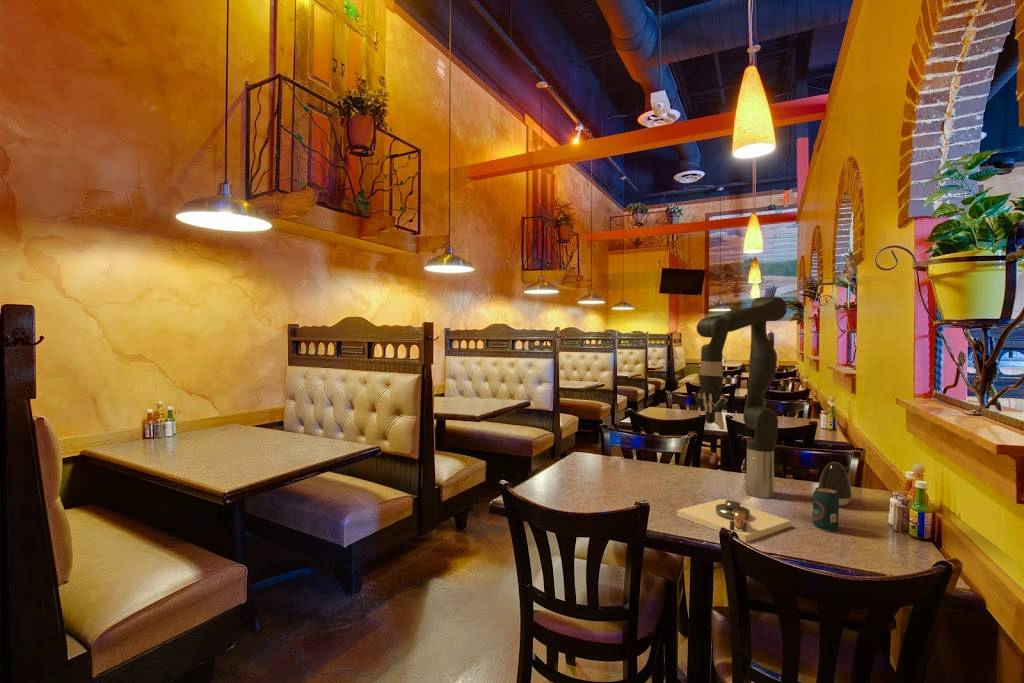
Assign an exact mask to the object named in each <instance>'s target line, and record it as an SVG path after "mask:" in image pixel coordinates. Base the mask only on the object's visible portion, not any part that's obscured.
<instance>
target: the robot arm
mask: <svg viewBox="0 0 1024 683" xmlns="http://www.w3.org/2000/svg"><path fill="white" fill-rule="evenodd" d="M750 306H751V307H744V308H739V309H738V308H737V309H735V310H731V311H728V312H725V313H722V314H718V315H711V316H706V317H704V318H701V319H700V320H698V323H697V325H696V332H697V334H698V335H699V336H700V337H702V338H709V339H710V341H709V343H708V344H707V343H706V344H704V345H701V351H700V366H699V388H700V389H699V391H698V393H697V394H694V395H693V399H694V400H695V402H696V403H697V405H698V407H699V409H700V410H702V411H703V412H705V422H706V423H707V424H709V425H711V424H712V425H713V424H714V423H715V421H716V413H718V412H721V411H722V410H723V408H724V407H726V405H727V403H728V402H729V398H727V397H725V396H724V393H723V391H722V389H723V386H724V384H723V383H724V380H723V377H724V366H723V352H724V347H725V343H726V340H727V337H728V334H729V333H731V332H735V331H737V330H740V329H743V328H747V327H749V326H750V334H751V335H750V336H751V337H750V354H749V362H748V365H749V366H748V380H747V390H746V399H745V404H744V409H743V422H744V424H745V426H746V427H747V428H749V429H750V430H752V431H753V430H754V436H753V438H751V439H749V440H747V442H746V468H745V469H746V477H745V480H746V481H745V494H748V495H749V496H752V497H756V498H761V499H763V498H764V499H770V498H773V497H774V494H775V469H774V468H775V465H774V464H775V460H774V459H775V446H776V444H777V442H778V440H777V439H778V429H779V418H778V415H777V413H776V412H775V411H774V410H773V409H771V408H768V407H765V396H766V393H767V390H768V388H769V387H770V385H771V383H772V382H773V380H774V378H775V375H776V373H777V372H776V371H777V360H778V359H777V357H778V356H777V353H776V351H775V349H774V348H775V347H773V345H772V343H771V341H770V339H769V337H768V333H767V322H775V321H776V322H777V321H780V320H782V319H783V318H784V317H785V315H786V313H787V309H788V307H787V303H786V301H785V300H784V299H783V298H782V297H779V296H765V297H764V296H762V297H756V298H755V299H754V300H753V301H752V303H751V305H750Z"/></svg>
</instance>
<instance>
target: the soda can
mask: <svg viewBox="0 0 1024 683" xmlns="http://www.w3.org/2000/svg"><path fill="white" fill-rule="evenodd" d="M814 489H815V490H814V492H813V493H812V517H811V518H812V520H811V521H812V524H813V526H814V528H816V529H818V528H819V529H818V530H820V529H821V530H820V531H824V530H825V531H824V532H836V531H837V529H838V528H839V524H840V523H839V519H840V518H839V517H840V510H839V509H840V506H839V496H838V494H837V491H836V490H833V489H830V488H824V487H818V486H817V487H815V488H814ZM835 530H836V531H835Z"/></svg>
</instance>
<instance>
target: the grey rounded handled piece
mask: <svg viewBox="0 0 1024 683" xmlns="http://www.w3.org/2000/svg"><path fill="white" fill-rule="evenodd" d="M740 505H741V503H740V502H739V501H736V500H728V501H725V504H719V505H717V506H716V513H717V514H719V515H721V516H723V517H727V518H731V519H733V521H734V526H735V527H738V528H742V522H745V519H748V518H749V517H750V511H749V510H748V509H747V508H745V507H742V506H740Z"/></svg>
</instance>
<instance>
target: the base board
mask: <svg viewBox="0 0 1024 683" xmlns="http://www.w3.org/2000/svg"><path fill="white" fill-rule="evenodd" d="M725 501H729V500H728V499H724V498H720V499H716V500H712V501H708V502H703V503H699V504H696V505H692V506H688V507H685V508H681V509H680V508H679V509H677V510H676V516H677V517H678V516H679V518H681V517H682V518H681V519H683V518H685V519H684V520H686V519H687V520H686V521H688V520H690V521H689V522H691V521H693V522H695V523H694V524H696V523H698V524H697V525H699V524H701V525H704V526H706V527H709V528H712V529H714V530H718V532H717V533H719V529H720V528H721V527H725V528H727V529H729V530H733V531H735V532H736V533H737V534H738V536H739V538H740V539H741V540H742V541H744V542H743V543H748V542H751V541H753V540H756V539H759V538H762V537H765V536H768V535H771V534H773V533H776V532H780V531H782V529H783V530H786V529H788V527H789V528H791V520H789V519H786V518H785V517H784V518H783V517H780V516H778V515H774V514H771V513H767V512H765V511H762V510H760V509H759V510H758V509H756V508H752V507H750V506H746V505H743V504H740V506H742V507H745V508H747V509H748V510H749V511H750V517H749V518H748V519H745V522H742V528H738V527H735V526H734V521H733V519H731V518H727V517H723V516H721V515H719V514H717V513H716V506H717V505H719V504H725ZM693 522H692V523H693ZM701 525H700V526H701ZM704 526H703V527H704ZM706 527H705V528H706ZM709 528H708V529H709ZM785 528H786V529H785ZM714 530H713V531H714ZM742 541H741V542H742Z"/></svg>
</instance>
